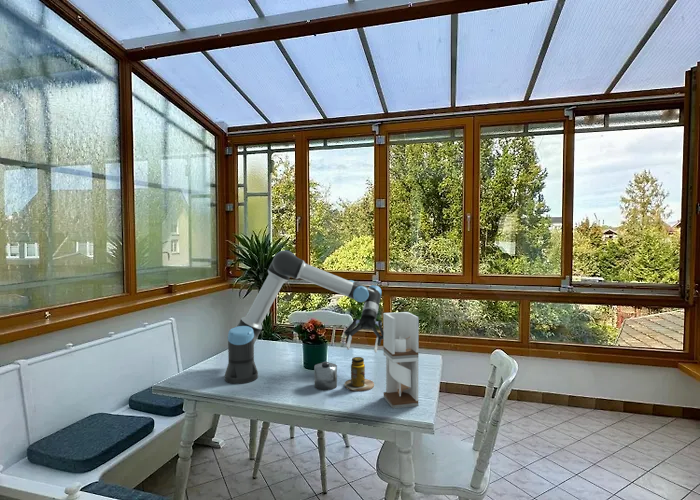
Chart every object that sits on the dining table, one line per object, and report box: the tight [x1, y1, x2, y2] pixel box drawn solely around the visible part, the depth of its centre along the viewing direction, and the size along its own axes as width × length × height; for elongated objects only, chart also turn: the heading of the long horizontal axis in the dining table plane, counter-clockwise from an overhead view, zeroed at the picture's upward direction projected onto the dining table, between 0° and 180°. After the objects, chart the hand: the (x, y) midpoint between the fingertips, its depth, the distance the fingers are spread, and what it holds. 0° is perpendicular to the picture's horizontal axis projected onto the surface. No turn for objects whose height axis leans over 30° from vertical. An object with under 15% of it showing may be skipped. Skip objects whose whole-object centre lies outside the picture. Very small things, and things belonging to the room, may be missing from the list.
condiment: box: [343, 356, 368, 391], centre depth 177 cm, size 7×8×12 cm
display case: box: [382, 311, 420, 409], centre depth 162 cm, size 11×11×35 cm
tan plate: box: [344, 378, 375, 392], centre depth 180 cm, size 13×13×1 cm
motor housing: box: [313, 361, 338, 392], centre depth 180 cm, size 10×10×10 cm
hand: (361, 349), depth 191 cm, fingers open, 13 cm apart
